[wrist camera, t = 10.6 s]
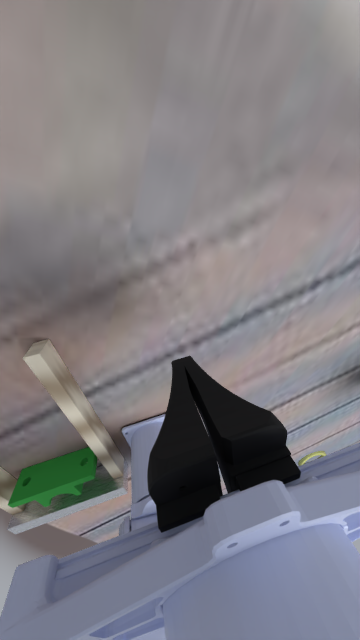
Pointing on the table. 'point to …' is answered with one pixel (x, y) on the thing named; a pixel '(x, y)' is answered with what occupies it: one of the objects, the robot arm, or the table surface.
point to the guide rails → (76, 410)
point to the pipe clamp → (54, 478)
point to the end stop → (71, 501)
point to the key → (311, 456)
